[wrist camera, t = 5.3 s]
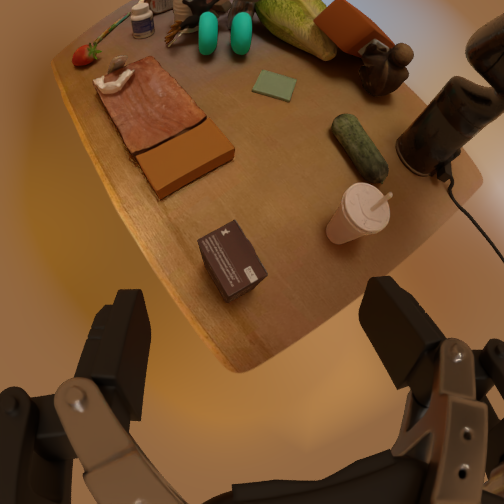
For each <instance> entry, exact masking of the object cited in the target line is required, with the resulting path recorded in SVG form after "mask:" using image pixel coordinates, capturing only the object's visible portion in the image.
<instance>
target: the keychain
mask: <svg viewBox="0 0 504 504" xmlns="http://www.w3.org/2000/svg"><path fill="white" fill-rule="evenodd" d="M126 60H127V55H122V56H118V57H116V58H114V59H112V61H111V63H110V66H109V69H108V72H107V73H108V74H110V73H112V72H114V71H116V70H118V69H120V68H122V67H123V66H124V64H125V62H126Z"/></svg>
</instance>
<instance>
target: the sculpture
mask: <svg viewBox="0 0 504 504" xmlns="http://www.w3.org/2000/svg"><path fill="white" fill-rule="evenodd" d="M413 57H414V53H413V51H412V49H411V47H410V46H408V45H407V44H404V43H399V44H396V45H395V46H394V47H393V48H390V49H389V51H388V52H387V49H386V47H382V48H380V47H379V46H378V45H376V44H373V43H371V44H369V45H368V46H367V47H366V49H365V51H364V53H363V55H362V61H363V63H364V65H365V66H361V68H360V69H359V74H360V77H361V80H362V82H363V87H364V89H365V90H366V91H367V92H368V93H369V94H371V95H373V96H384V95H387V94H389V93H391V92H393V91H395V90H396V89H398V88H399V87H400V85H401V84H402V83H403V82H404V81H405V80H406V79H407V78H408V76H409V72H408V70H407V68H406V67H405V66H407V65H408V64H409V63H410V62H411V61H412V59H413Z"/></svg>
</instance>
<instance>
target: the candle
mask: <svg viewBox="0 0 504 504" xmlns="http://www.w3.org/2000/svg"><path fill="white" fill-rule="evenodd" d="M186 1H188V2H191V1H192V0H186ZM173 5H174V6H173V9H174V10H173V13H174V14H175V17H174V24H175V23H176V22H175V21H176V20H181V21H182V22H183V21H184V20H185V19H186V18H187V17H189V16H192V11H191V9H190V7H188V6H187V5H185V4H183V3H182V0H173ZM198 30H199V26H196V27H195V28H192V29H191V28H188V29H187V30H186V31H184V32H183V33H192V32H195V31H198ZM182 31H183V30H181V31H179V32H182Z"/></svg>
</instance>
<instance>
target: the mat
mask: <svg viewBox="0 0 504 504" xmlns="http://www.w3.org/2000/svg"><path fill="white" fill-rule="evenodd" d="M295 83H296V79H293V78H290V77H287V76H283V75H280V74H277V73H273V72H270V71H266V70H262V71H261V73H260V75H259V77H258V79H257V81H256V83H255V85H254V87H253V89H252V92H255V93H259V94H262V95H266V96H269V97H273V98H276V99H279V100H283V101H286V102H289V101H290V98H291V95H292V92H293V89H294V86H295Z"/></svg>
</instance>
